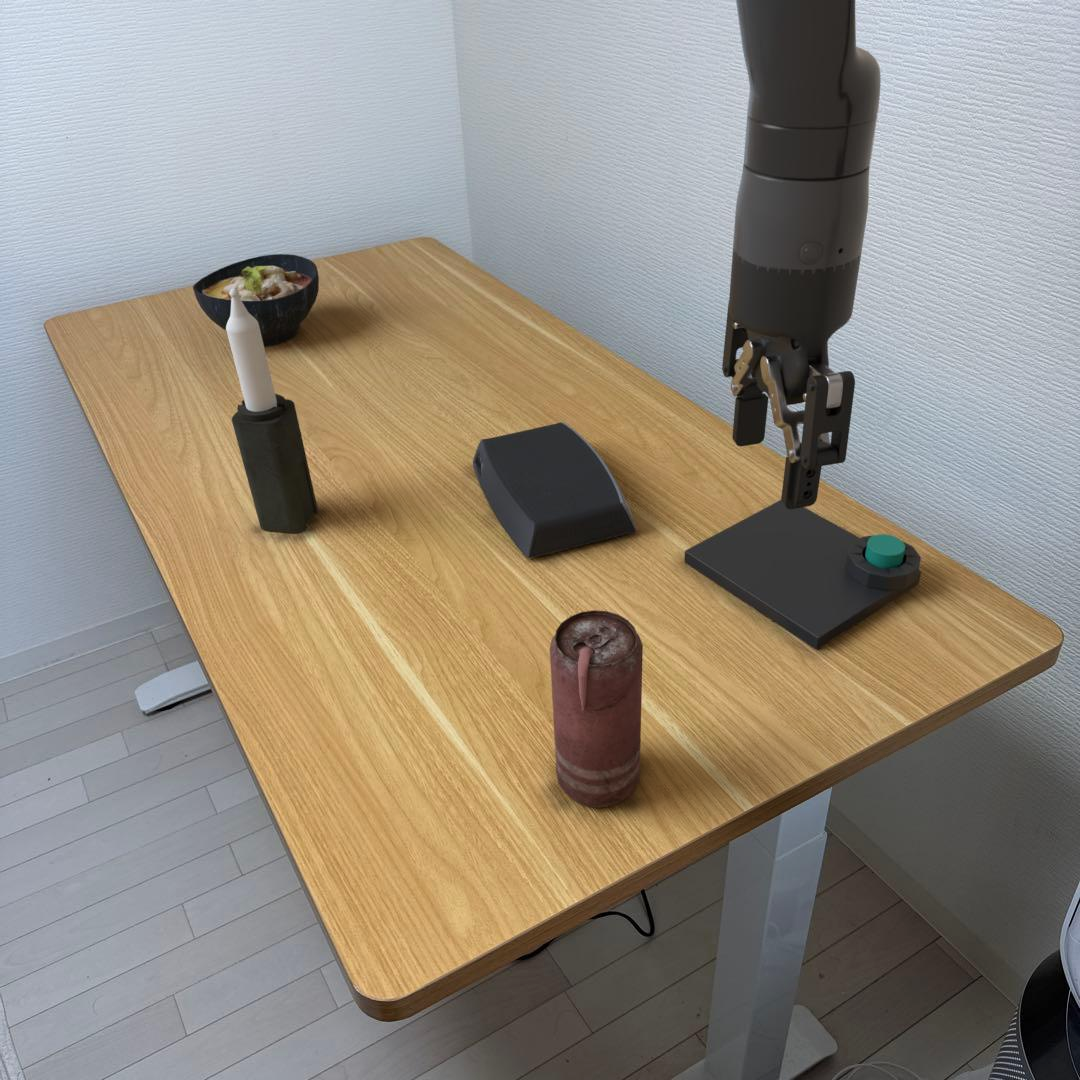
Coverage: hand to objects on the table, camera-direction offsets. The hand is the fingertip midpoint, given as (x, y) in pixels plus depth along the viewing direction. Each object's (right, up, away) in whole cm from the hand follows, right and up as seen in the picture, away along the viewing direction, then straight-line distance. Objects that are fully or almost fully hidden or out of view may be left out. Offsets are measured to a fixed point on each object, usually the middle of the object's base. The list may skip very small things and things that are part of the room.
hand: (771, 472), depth 67 cm
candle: (-42, -3, +34) cm, 54 cm away
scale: (+8, -8, +22) cm, 25 cm away
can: (-12, -23, +4) cm, 26 cm away
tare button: (+15, -6, +19) cm, 25 cm away
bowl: (-55, +25, +73) cm, 95 cm away
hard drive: (-15, -1, +34) cm, 38 cm away
